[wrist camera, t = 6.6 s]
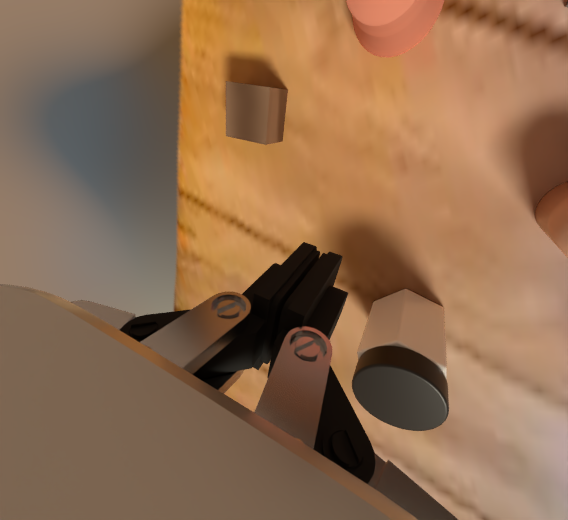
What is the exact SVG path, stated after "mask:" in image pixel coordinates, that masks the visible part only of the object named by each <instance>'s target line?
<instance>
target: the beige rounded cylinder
mask: <svg viewBox="0 0 568 520" xmlns="http://www.w3.org/2000/svg"><path fill="white" fill-rule="evenodd" d="M535 217H536V221H537V223H538V225H539V226H540V228H541V229H542V230H543V231H544V232H545V233H546V234H547V235H548V237H549V238H550V239H551V240H552V241H553V242H554V243H555V244H556V245H557V247H558V248H559V249H560V250H561V251H562V252H563V253H564V254H565V255H566V256H567V258H568V182H565V183H563V184H561V185H559V186H557V187H555V188H553V189H552V190H550V191H549V192H548V193H547V194H546V195H545V196H544V197H543V198H542V199H541V200H540V202H539V203H538V206H537V208H536V212H535Z"/></svg>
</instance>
